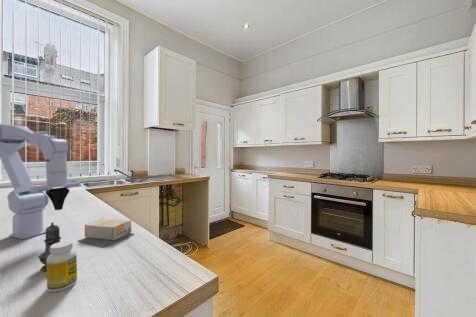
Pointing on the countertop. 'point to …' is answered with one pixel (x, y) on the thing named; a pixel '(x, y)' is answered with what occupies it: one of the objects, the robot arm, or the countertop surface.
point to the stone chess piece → (49, 243)
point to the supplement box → (108, 229)
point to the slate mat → (102, 240)
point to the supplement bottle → (61, 266)
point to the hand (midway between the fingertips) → (58, 209)
